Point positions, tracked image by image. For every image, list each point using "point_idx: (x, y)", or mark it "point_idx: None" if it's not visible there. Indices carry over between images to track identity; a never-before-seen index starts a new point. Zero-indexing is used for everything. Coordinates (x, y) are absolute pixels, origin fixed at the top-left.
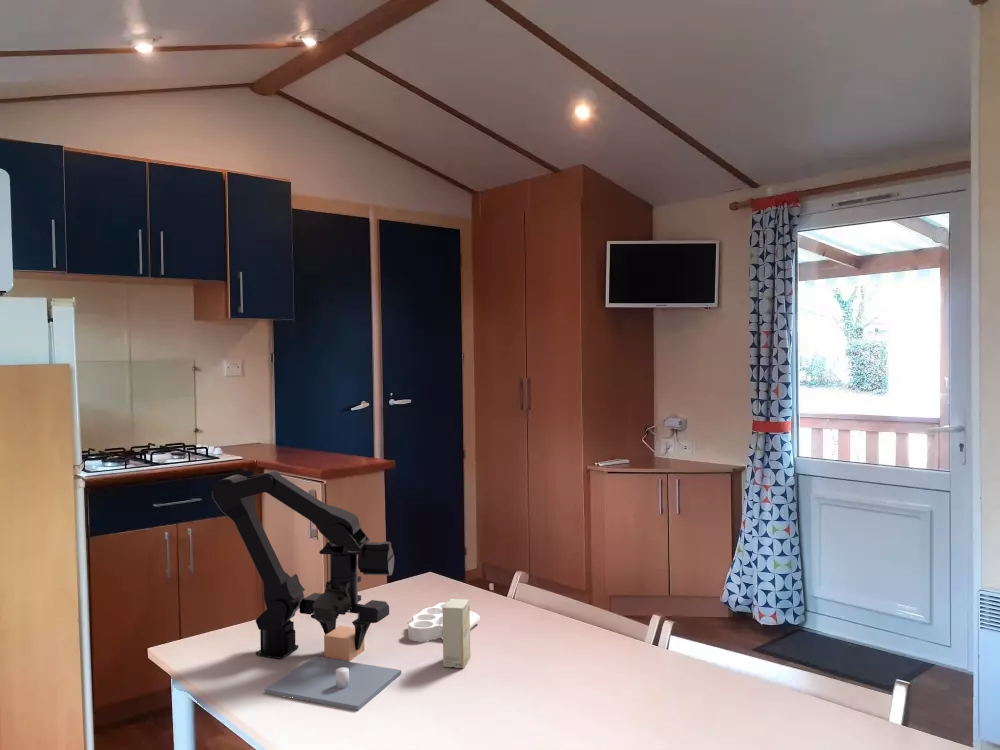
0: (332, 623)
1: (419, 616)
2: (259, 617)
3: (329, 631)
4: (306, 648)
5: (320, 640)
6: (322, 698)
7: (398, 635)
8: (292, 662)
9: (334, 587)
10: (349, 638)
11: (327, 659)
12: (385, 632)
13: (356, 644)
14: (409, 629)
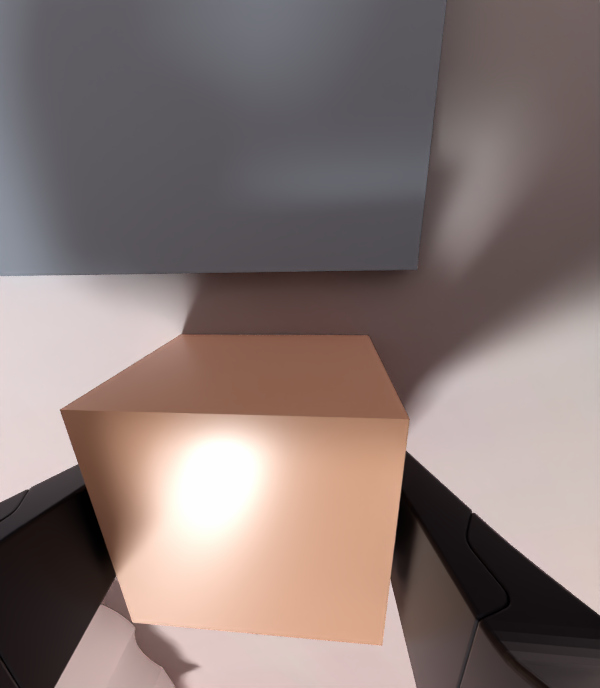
0: (431, 664)
1: None
2: None
3: (409, 529)
4: (562, 415)
5: (519, 525)
6: None
7: (177, 628)
8: (572, 161)
9: None
10: (76, 430)
11: (282, 250)
12: (247, 641)
13: None
14: (76, 667)
